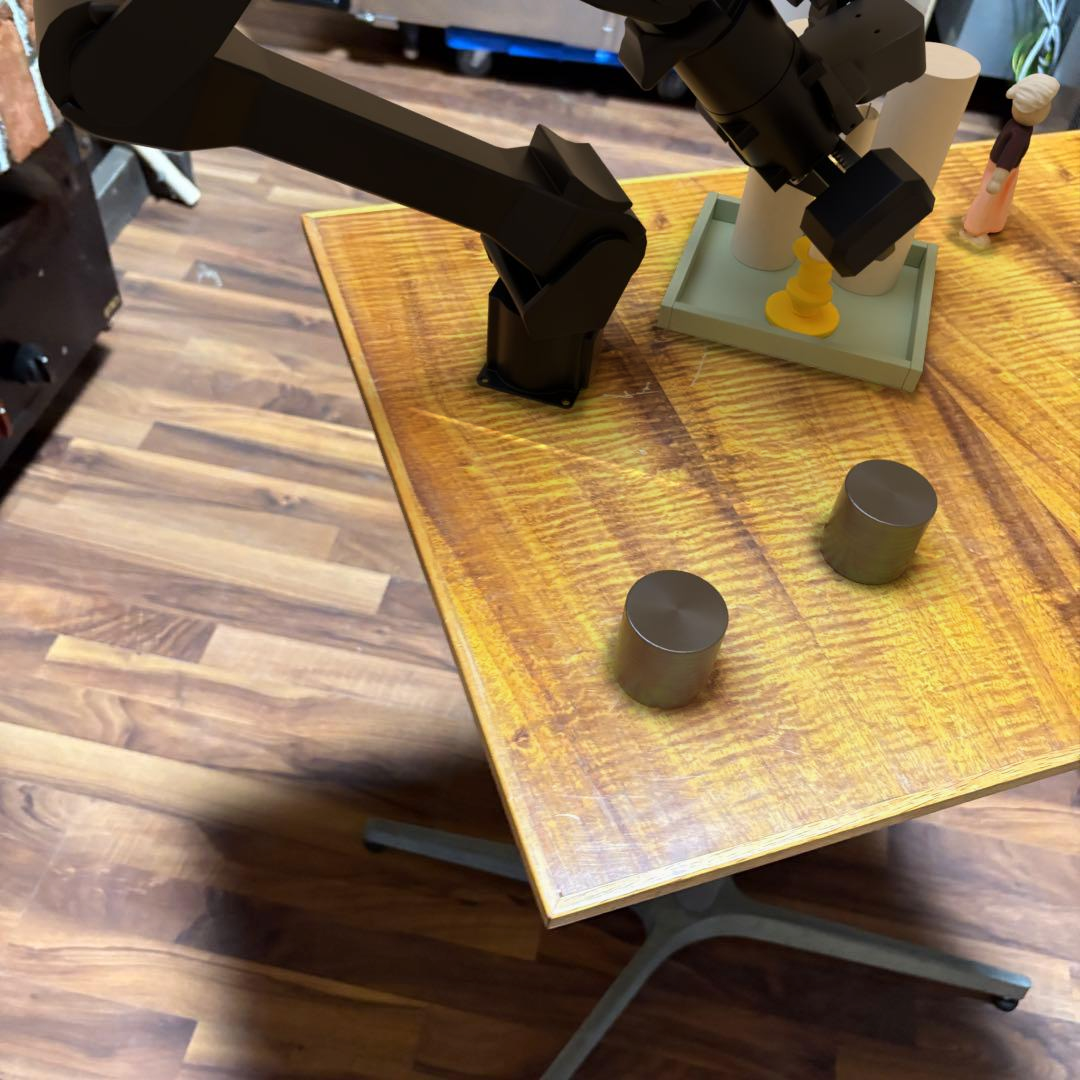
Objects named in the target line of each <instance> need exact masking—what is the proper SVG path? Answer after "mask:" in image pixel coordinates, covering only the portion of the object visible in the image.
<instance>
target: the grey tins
mask: <svg viewBox="0 0 1080 1080" xmlns="http://www.w3.org/2000/svg"><path fill="white" fill-rule="evenodd" d="M938 505H939V501H938V495H937V492H936V490H935V488H934V487H933V485H932V484H931V482H930V481H929V480H928V478H926V476H924V475H923V474H922V473H920V472H919V471H917V470H916V469H914V468H913V467H911V466H909V465H906V464H904V463H902V462H898V461H894V460H890V459H885V458H884V459H881V458H876V459H867V460H864V461H861V462H859V463H857V464H855V465H854V466H853V467H851V468H850V469H849V471H848V472H847V473H846V476H845V478H844V480H843V483H842V485H841V487H840V490H839V492H838V494H837V496H836V499H835V500H834V503H833V506H832V508H831V510H830V513H829V515H828V518H827V520H826V522H825V525H824V527H823V530H822V532H821V534H820V539H819V547H820V552H821V554H822V556H823V558H824V559H825V561H826V563H828V565H829V566H830V567H831V568H832V569H833V570H835V571H836V572H837V573H838V574H839V575H841V576H843V577H845V578H846V579H849V580H851V581H854V582H856V583H860V584H865V585H883V584H884V585H885V584H888V583H891V582H893V581H895V580H896V579H898V578H899V577H900V576H902V575H903V573H904V571H905V570H906V568H907V566H908V565H909V563H910V561H911V559H912V557H913V555H914V553H915V552H916V549H918V546H919V545H920V543H921V541H922V539H923V536H924V535H925V533H926V532H927V529H928V528H929V526H930V524H931V522H932V521H933V518H934V516H935V515H936V513H937V511H938ZM729 621H730V614H729V609H728V605H727V603H726V601H725V599H724V597H723V595H722V594H721V593H720V591H719V590H718V589H717V588H716V587H715V586H714V585H713V584H712V583H710V582H709V581H707V580H706V579H704V578H702V577H701V576H698V575H696V574H694V573H692V572H688V571H684V570H678V569H661V570H656V571H653V572H650V573H648V574H645V575H643V576H642V577H640V578H639V579H638V580H636V581H635V583H634V584H633V585H632V586H631V587H630V589H629V590H628V592H627V594H626V598H625V601H624V606H623V610H622V615H621V620H620V625H619V629H618V632H617V638H616V642H615V647H614V652H613V656H612V668H613V670H612V671H613V674H614V676H615V679H616V681H617V682H618V685H619V686H620V687H621V688H622V689H623V691H624V692H625V693H626V694H627V695H628V696H630V697H631V698H632V699H634V700H635V701H636V702H639V703H640V704H643V705H645V706H647V707H651V708H655V709H664V710H665V709H666V710H671V709H678V708H682V707H685V706H687V705H688V704H689V705H690V704H691V703H693V702H694V701H695V700H697V699H698V698H699V697H700V696H701V695H702V694H704V693H703V692H704V691H705V690H706V688H707V686H708V683H709V680H710V678H711V674H712V671H713V669H714V666H715V663H716V661H717V658H718V655H719V652H720V650H721V648H722V644H723V641H724V638H725V636H726V632H727V630H728V627H729V623H730V622H729Z"/></svg>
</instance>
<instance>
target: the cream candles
mask: <svg viewBox="0 0 1080 1080" xmlns="http://www.w3.org/2000/svg"><path fill="white" fill-rule="evenodd" d="M808 18H809V17H807V18H798V19H797V18H796V19H793V20H791V21H788V22H786V24H787V26H789V27H790V28H791V29H792V30H793V31H794V32H795V34H796V35H797V37H799V36H801V35H802V34H803V33H804V30H805V29H806V28H807V27H808ZM925 45H926V71H925V73H924V74H923V75H922V76H921V77H920V78H918V79H917V80H915V81H913V82H911V83H908V82H906V83H904V84H902V85H900V86H898V87H896V88H894V89H893V90H891V91H889V92H887V93H885V97H884V100H883V104H882V106H881V109H880V112H879V120H878V123H877V126H876V130H875V133H874V137H873V140H872V144H871V147H870V150H872V149H881V148H889V147H891V148H892V149H893V150H894V151H895V152H896V153H897V154H898V155H899V156H900V157H901V158H902V159H903V160H904V161H905V162H906V163H908V164H909V165H910V166H911V167H912V168H913V169H914V170H915V171H916V172H917V173H918V174H919V175H920V176H921V177H922V178H923V179H924V180H925V181H926V183H927V185H928V186H929V188H930V190H931V191H932V193H933V191H934V189H935V186H936V183H937V181H938V179H939V177H940V173H941V171H942V169H943V167H944V165H945V161H946V159H947V156H948V154H949V151H950V150H951V149H950V148H951V146H952V144H953V141H954V139H955V137H956V133H957V131H958V128H959V126H960V124H961V121H962V118H963V116H964V115H965V111H966V109H967V106H968V103H969V101H970V99H971V96H972V93H973V92H974V89H975V87H976V84H977V81H978V78H979V76H980V73H981V71H982V65H981V63H980V61H979V60H978V59H977V58H976V57H975V56H974V55H973V54H971V53H969V52H967V51H966V50H963V49H961V48H959V47H955V46H953V45H950V44H945V43H940V42H933V41H925ZM743 186H744V187H743V190H742V195H741V197H740V198H741V203H740V207H739V211H738V215H737V219H736V223H735V227H734V231H733V236H732V240H731V244H730V249H731V252H732V254H733V256H734V257H735V258H736V259H737V260H738V261H740V262H741V263H743V264H745V265H747V266H749V267H752V268H755V269H759V270H765V271H777V270H782V269H785V268H787V267H789V266H791V265H792V264H793V263H794V261H795V259H796V256H795V254H794V252H793V245H794V243H795V241H796V240H798V239H799V238H801V237H802V236H803V231H802V230H801V229H800V228H799V227H800V224H801V221H802V217H803V214H804V211H805V207H806V206H807V205H809V204H810V203H811V202H812V201H813V200H814V199H815V197H813V196H811V195H809V194H807V193H805V192H802V191H800V190H798V189H796V188H794V187H792V186H790V185H788V184H785V185H783V186H782V187H781V188H780V189H779V190H778V191H777V192H776V193H775V192H774V191H773V190H772V189H771V188H770V187H769V185H768V184H767V183H766V182H765V181H764V180H763V179H762V177H761V176H760V175H759V174H758V173H757V172H756V171H755V169H753V168H751V167H749V166H748V170H747V174H746V178H745V183H744V185H743ZM920 224H921V222H919V223H918V224H917V225H916V226H915V227H913V228H912V229H911V230H910V231H909V232H907V233H906V234H905V235H904V236H903V237H902V238H900V239H899V240H898V241H897V242H896V243H895V251H894V252H893V253H892V254H891V255H890V256H889V257H887V258H886V259H885V260H884V261H881V262H880V261H875V260H874V261H873V262H872V263H871V264H869V265H868V266H867V267H866V268H865V269H863V270H862V271H861V272H860V273H859V274H858V275H856V276H855V277H844V278H842V277H841V276H840V275H839V274H838V273H837V271H836V270H832V277H831V278H832V280H833V281H834V282H835V283H836V284H837V285H839V286H840V287H842V288H843V289H845V290H847V291H850V292H852V293H855V294H859V295H865V296H879V295H883V294H886V293H888V292H890V291H891V290H892V289H893V288H894V287H895V285H896V282H897V279H898V277H899V274H900V272H901V269H902V267H903V264H904V262H905V259H906V257H907V254H908V252H909V249H910V247H911V244H912V242H913V239H915V238H916V234H917V231H918V230H919V226H920Z"/></svg>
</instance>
